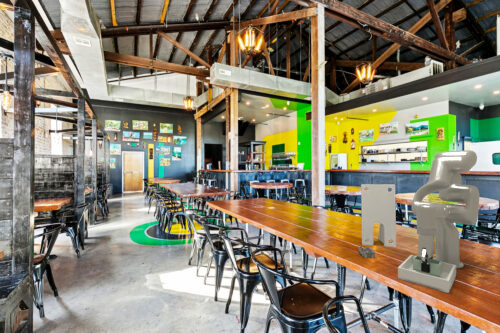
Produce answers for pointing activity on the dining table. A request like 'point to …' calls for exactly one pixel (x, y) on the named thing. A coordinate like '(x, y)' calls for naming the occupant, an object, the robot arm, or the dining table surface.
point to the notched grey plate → (378, 213)
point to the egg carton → (366, 252)
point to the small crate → (434, 265)
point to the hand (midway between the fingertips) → (427, 269)
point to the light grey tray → (428, 276)
